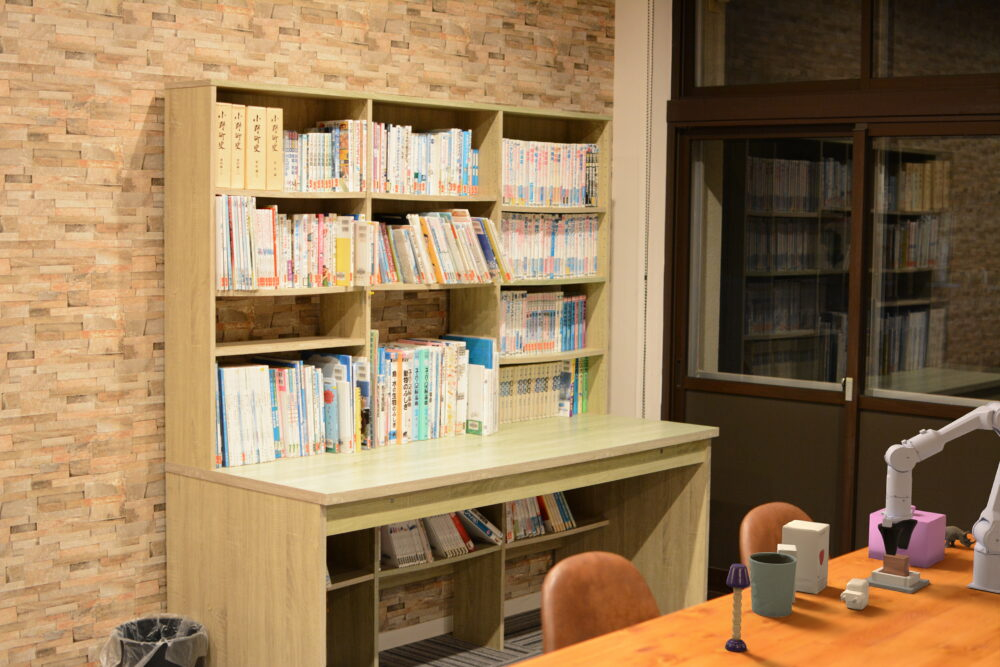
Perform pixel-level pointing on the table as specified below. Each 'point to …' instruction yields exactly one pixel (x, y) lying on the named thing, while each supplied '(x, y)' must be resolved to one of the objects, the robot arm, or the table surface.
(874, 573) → the grey framed tray
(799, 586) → the supplement box
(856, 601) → the power adapter
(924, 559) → the pink knobbed box
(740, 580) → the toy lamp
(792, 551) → the skincare box
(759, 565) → the grey-green tapered cup
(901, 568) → the block
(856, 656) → the table surface
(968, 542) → the rhino figurine
